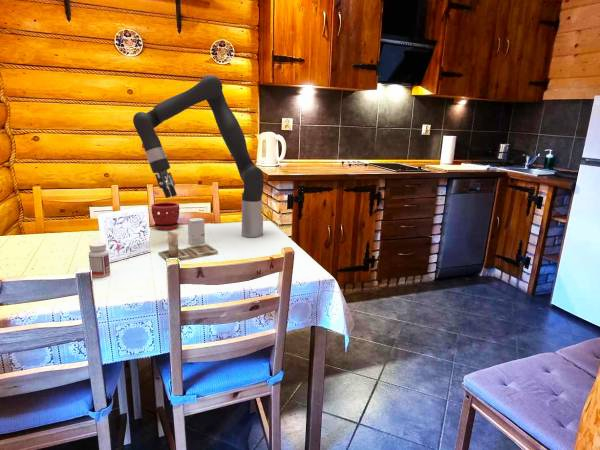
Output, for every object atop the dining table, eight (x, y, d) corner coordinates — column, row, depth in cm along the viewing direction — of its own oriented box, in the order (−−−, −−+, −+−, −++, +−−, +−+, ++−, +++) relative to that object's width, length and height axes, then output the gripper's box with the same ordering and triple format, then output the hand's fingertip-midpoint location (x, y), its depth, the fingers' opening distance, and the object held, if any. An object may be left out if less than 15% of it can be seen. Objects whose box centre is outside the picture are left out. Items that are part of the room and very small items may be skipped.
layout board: (205, 247, 175) (205, 243, 174) (219, 256, 165) (219, 251, 164) (157, 256, 163) (157, 250, 162) (168, 266, 153) (168, 260, 152)
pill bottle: (106, 270, 147) (103, 240, 144) (113, 275, 143) (110, 244, 140) (87, 274, 142) (84, 243, 139) (95, 279, 138) (91, 247, 135)
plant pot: (185, 227, 205) (184, 203, 202) (164, 232, 194) (163, 208, 191) (168, 222, 211) (167, 200, 208) (146, 228, 201) (145, 204, 198)
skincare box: (191, 248, 173) (190, 221, 170) (188, 245, 177) (187, 218, 173) (205, 246, 176) (204, 219, 173) (201, 243, 180) (201, 217, 177)
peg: (176, 254, 162) (175, 229, 160) (179, 256, 160) (178, 232, 157) (167, 255, 160) (166, 231, 158) (170, 258, 157) (169, 233, 155)
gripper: (160, 156, 164) (175, 195, 166) (171, 157, 178) (184, 193, 180) (143, 162, 164) (157, 200, 166) (155, 163, 178) (168, 198, 180)
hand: (171, 196), depth 173 cm, fingers open, 8 cm apart
